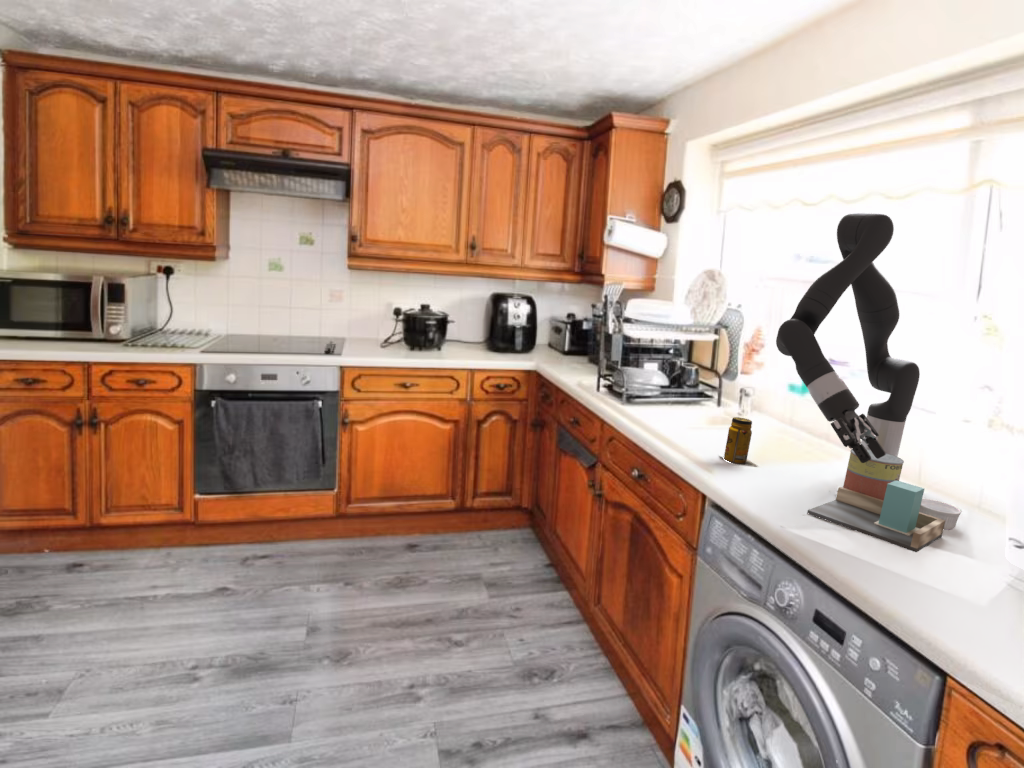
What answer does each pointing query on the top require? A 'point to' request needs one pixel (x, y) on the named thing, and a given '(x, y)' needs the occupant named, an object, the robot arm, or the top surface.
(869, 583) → the top surface
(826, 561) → the top surface
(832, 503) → the tray
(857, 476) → the canned food
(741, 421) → the condiment
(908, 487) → the block
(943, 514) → the ramekin
